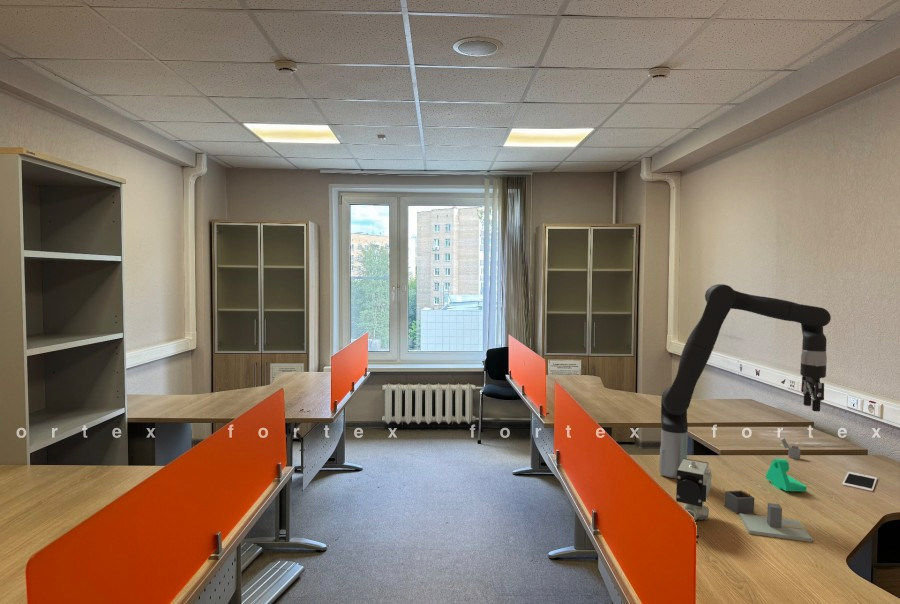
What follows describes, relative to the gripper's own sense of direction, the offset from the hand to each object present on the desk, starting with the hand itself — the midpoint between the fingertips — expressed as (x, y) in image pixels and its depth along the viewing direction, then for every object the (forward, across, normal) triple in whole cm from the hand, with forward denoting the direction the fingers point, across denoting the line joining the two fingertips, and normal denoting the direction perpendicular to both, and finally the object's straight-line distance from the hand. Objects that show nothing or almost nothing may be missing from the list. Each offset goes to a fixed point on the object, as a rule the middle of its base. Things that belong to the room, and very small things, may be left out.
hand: (811, 408), depth 189 cm
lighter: (+30, -38, +5) cm, 48 cm away
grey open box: (+29, +27, -28) cm, 49 cm away
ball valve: (+30, +38, -43) cm, 64 cm away
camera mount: (+30, 0, -7) cm, 31 cm away
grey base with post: (+29, +38, -21) cm, 53 cm away
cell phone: (+30, -14, +21) cm, 39 cm away
